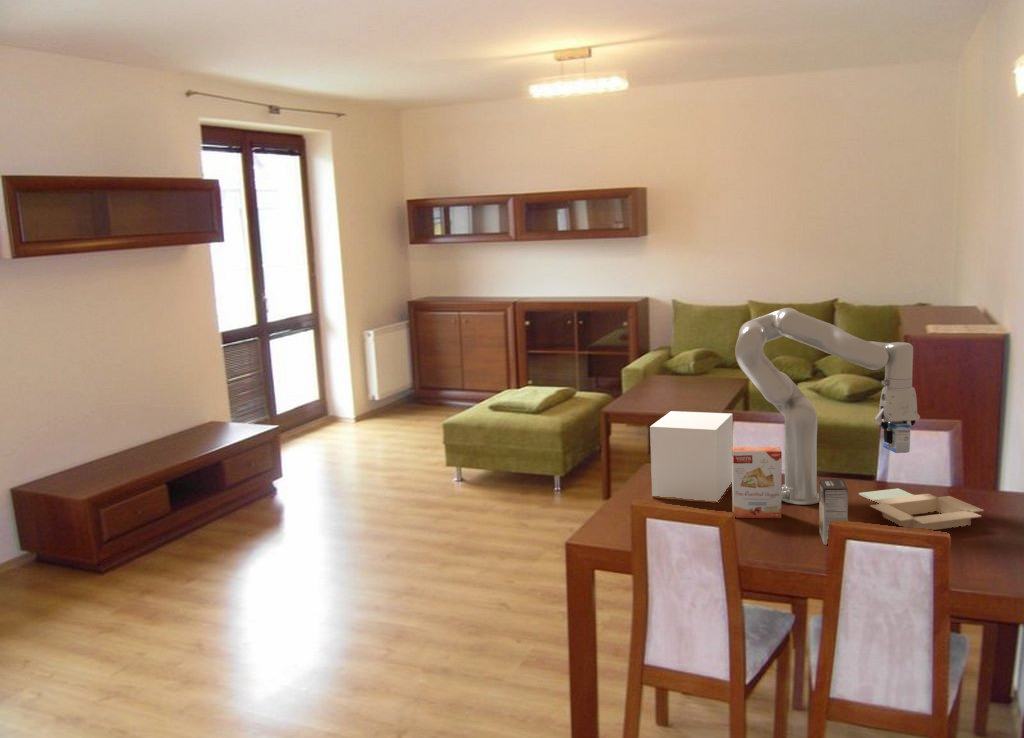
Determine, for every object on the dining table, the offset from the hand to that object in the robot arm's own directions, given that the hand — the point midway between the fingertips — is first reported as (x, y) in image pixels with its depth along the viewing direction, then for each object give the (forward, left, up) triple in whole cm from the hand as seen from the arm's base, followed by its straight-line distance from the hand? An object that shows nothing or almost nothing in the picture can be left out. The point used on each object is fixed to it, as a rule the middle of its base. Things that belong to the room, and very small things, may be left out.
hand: (896, 441), depth 256 cm
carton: (-3, -18, -19) cm, 26 cm away
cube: (-52, +33, -20) cm, 65 cm away
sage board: (+1, +3, -19) cm, 19 cm away
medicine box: (0, 0, -3) cm, 3 cm away
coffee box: (-35, -23, -19) cm, 46 cm away
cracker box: (-45, +2, -19) cm, 49 cm away
